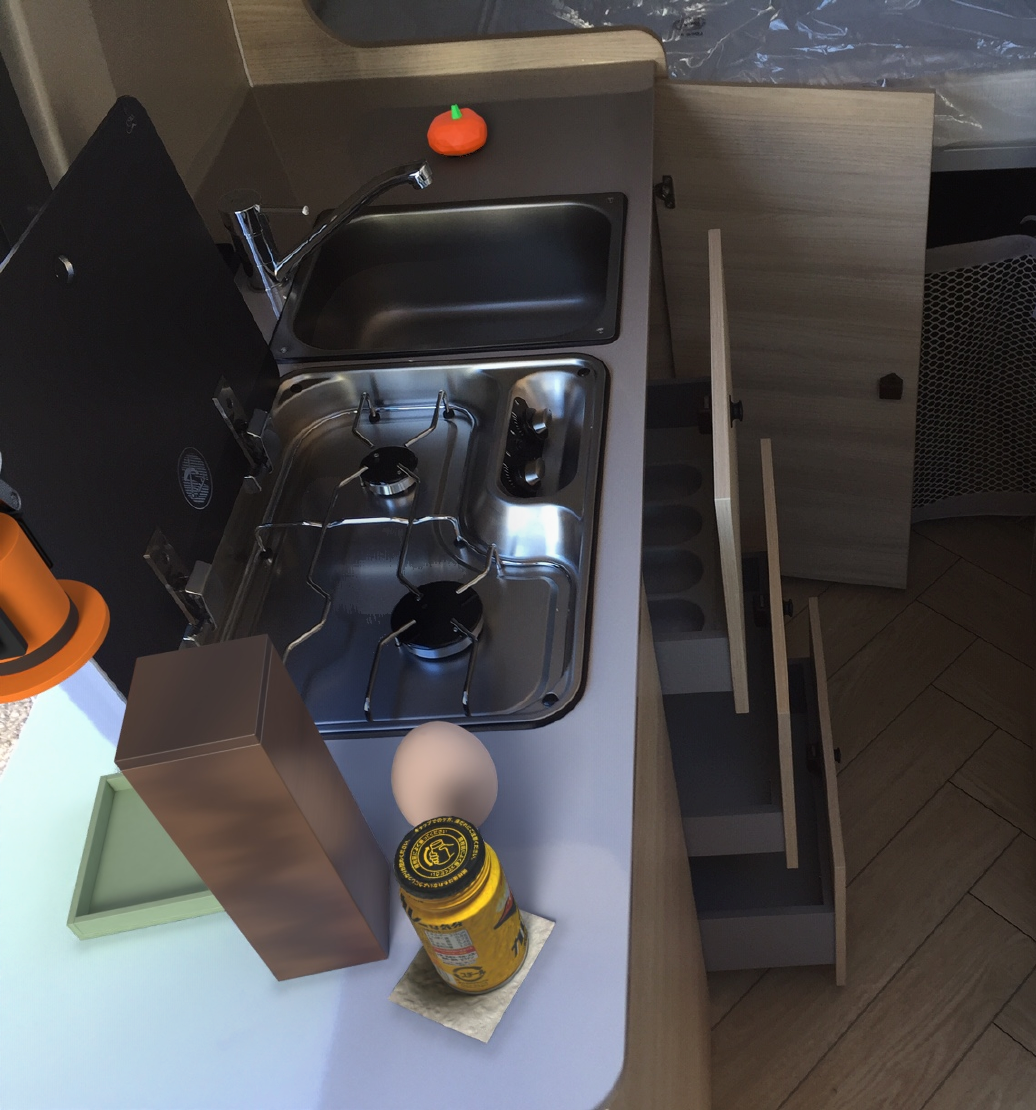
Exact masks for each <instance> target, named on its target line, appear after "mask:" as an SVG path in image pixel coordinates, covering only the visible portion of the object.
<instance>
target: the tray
mask: <svg viewBox="0 0 1036 1110" xmlns="http://www.w3.org/2000/svg"><path fill="white" fill-rule="evenodd" d="M86 833H87V834H86V837H85V840H84V841H85V842H84V846H83V850H82V855H81V858H80V863H79V868H78V872H77V876H76V881H75V883H74V884H75V885H74V889H73V894H72V897H71V902H70V907H69V911H68V915H67V919H66V923H65V926H66V927H67V928H68V929H69V930H70V932H72V933H73V934H74V935H75V936H76V938H77V939H78V940H80V941H84V940H90V939H95V938H99V937H104V936H109V935H113V934H114V935H115V934H119V933H124V932H129V931H135V930H138V929H144V928H148V927H154V926H158V925H162V924H168V923H173V922H178V921H182V920H188V919H193V918H196V917H202V916H208V915H213V914H218V913H222V912H226V911H225V910H224V908H223V907H222V906H221V904H220V903H219V902H218V900H217V899H216V898H215V896H214V895H213V894H212V892H211V891H210V890H209V888H208V887H207V886H206V884H205V883H204V882H203V880H202V879H201V878H200V876H199V875H198V874H197V872H196V871H195V870H194V868H193V867H192V866H191V864H190V863H189V862H188V860H187V859H186V858H185V856H184V855H183V854H182V852H181V851H180V850H179V848H178V847H177V846H176V844H175V843H174V842H173V840H172V839H171V838H170V836H169V835H168V834H167V832H166V831H165V830H164V828H163V827H162V826H161V824H160V823H159V822H158V820H157V819H156V818H155V816H154V815H153V814H152V812H151V811H150V810H149V808H148V807H147V806H146V804H145V803H144V802H143V800H142V799H141V798H140V796H139V795H138V794H137V792H136V791H135V790H134V788H133V787H132V786H131V784H130V783H129V782H128V780H127V779H126V778H125V776H124V775H123V774H122V772H121V771H119V772H114V773H110V774H105V775H101V776H99V781H98V785H97V789H96V794H95V798H94V803H93V807H92V811H91V815H90V820H89V825H88V828H87V832H86Z"/></svg>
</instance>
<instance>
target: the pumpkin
mask: <svg viewBox="0 0 1036 1110" xmlns="http://www.w3.org/2000/svg"><path fill="white" fill-rule="evenodd" d="M426 136H427V140H428V144H429V148H431V149H432V150H433V151H434V152H435V153H437V154H439V155H441V154H444V155H463V154H467V153H470V152H473V151H475V150H477V149H479V148H480V147H482V146H483V147H484V145H485V144H486V142H487V138H488V126H487V123H486V121H485V120H484V118H483V117H482V116H481V115H479V114H478V113H477V112H475V111H474V110H473V109H470V108H469V107H464V108H459V106H458V105H457V103H456V104H455V105H454V104H453V105H451V106H450V110H448V111H447V110H446V111H445V112H443V113H440V114H438V115H437V116H435V117H434V118H433V120H432V122H431V123H430V125H429V128H428V130H427V133H426ZM483 147H482V148H483ZM480 149H481V148H480ZM480 149H479V150H480ZM444 155H443V156H444ZM470 155H471V154H469V155H466V156H465V157H467V156H470ZM459 158H462V157H461V156H460V157H459Z"/></svg>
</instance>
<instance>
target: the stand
mask: <svg viewBox="0 0 1036 1110" xmlns="http://www.w3.org/2000/svg"><path fill="white" fill-rule="evenodd" d="M113 763H114V764H115V766H116V767H117V768H118V769H119V770H120V772H122V774H123V775H124V776H125V778H126V779H127V780H128V782H129V783H130V784H131V786H132V787H133V788H134V790H135V791H136V792H137V794H138V795H139V796H140V798H141V799H142V800H143V802H144V803H145V804H146V806H147V807H148V808H149V810H150V811H151V812H152V814H153V815H154V816H155V818H156V819H157V820H158V822H159V823H160V824H161V826H162V827H163V828H164V830H165V831H166V832H167V834H168V835H169V836H170V838H171V839H172V840H173V842H174V843H175V844H176V846H177V847H178V848H179V850H180V851H181V852H182V854H183V855H184V856H185V858H186V859H187V860H188V862H189V863H190V864H191V866H192V867H193V868H194V870H195V871H196V872H197V874H198V875H199V876H200V878H201V879H202V880H203V882H204V883H205V884H206V886H207V887H208V888H209V890H210V891H211V892H212V894H213V895H214V896H215V898H216V899H217V900H218V902H219V903H220V904H221V906H222V907H223V908H224V910H225V911H224V912H226V914H227V915H228V916H229V918H230V920H231V921H232V922H233V923H234V924H235V926H236V927H237V929H238V930H239V931H240V933H241V934H242V935H243V937H244V938H245V939H246V941H247V942H248V943H249V944H250V946H251V947H252V949H253V950H254V951H255V952H256V954H257V955H258V957H259V958H260V959H261V960H262V962H263V963H264V964H265V965H266V967H267V969H268V970H269V972H270V973H271V974H272V975H273V976H274V978H275V979H276V981H277V982H283V981H284V982H285V981H289V980H293V979H297V978H302V977H303V978H304V977H307V976H312V975H317V974H322V973H327V972H332V971H337V970H340V969H346V968H351V967H355V966H359V965H364V964H365V965H366V964H368V963H372V962H373V963H374V962H378V961H384V960H387V959H389V927H390V923H389V922H390V880H391V879H390V877H391V875H390V874H391V865H390V863H389V861H388V859H387V857H386V855H385V853H384V851H383V849H382V847H381V845H380V844H379V841H378V840H377V839H376V836H375V835H374V832H373V831H372V828H371V827H370V825H369V823H368V821H367V819H366V817H365V816H364V813H363V811H362V810H361V808H360V805H359V803H358V802H357V800H356V798H355V796H354V795H353V793H352V791H351V788H350V787H349V785H348V783H347V782H346V779H345V778H344V775H343V774H342V772H341V770H340V768H339V765H337V762H336V759H334V757H333V755H332V753H331V751H330V749H329V747H328V745H327V744H326V742H325V740H324V737H323V735H322V734H321V732H320V730H319V729H318V727H317V724H316V722H315V721H314V719H313V717H312V715H311V713H310V711H309V709H308V707H307V706H306V704H305V701H304V700H303V698H302V696H301V695H300V692H299V691H298V689H297V687H296V685H295V683H294V681H293V679H292V678H291V675H290V674H289V672H288V670H287V668H286V666H285V664H284V662H283V660H282V658H281V657H280V655H279V653H278V651H277V649H276V648H275V645H274V643H273V641H272V640H271V638H270V636H269V634H268V633H263V634H257V635H252V636H246V637H242V638H236V639H231V640H226V641H221V642H214V643H211V644H204V645H198V646H194V647H188V648H183V649H178V650H172V651H167V652H162V653H155V654H150V655H145V656H139V657H137V658H136V660H135V664H134V669H133V674H132V678H131V683H130V687H129V691H128V696H127V701H126V705H125V710H124V714H123V718H122V723H121V728H120V732H119V736H118V741H117V745H116V749H115V755H114V759H113Z"/></svg>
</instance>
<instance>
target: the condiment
mask: <svg viewBox="0 0 1036 1110" xmlns="http://www.w3.org/2000/svg"><path fill="white" fill-rule="evenodd" d="M393 870H394V872H393V874H394V875H393V876H394V878H395V881H396V883H397V884H398V886H399V887H398V896H399V899H400V903H401V907H402V908H403V910H404V913H405V914H406V916H407V918H408V920H409V921H410V923H411V925H412V927H413V929H414V931H415V932H416V935H417V936H418V938H419V940H420V942H421V944H422V946H421V948H420V949H419V950H418V952H417V953H416V956H415V957H414V959H413V960H412V962H411V963H410V965H409V967H408V968H407V970H406V971H405V972H404V974H403V975H402V977H401V978H400V980H399V981H398V983H396V985H395V987H394V988H393V991H392V992H391V994H389V997H388V998H387V1000H388V1001H389V1002H391V1003H394V1004H396V1005H398V1006H400V1007H402V1008H404V1009H407V1010H409V1011H411V1012H413V1013H415V1014H418V1015H420V1016H421V1017H424V1018H426V1019H429V1020H431V1021H433V1022H436V1023H438V1024H441V1025H443V1026H444V1027H446V1028H450V1029H452V1030H455V1031H457V1032H460V1033H461V1034H464V1035H466V1036H467V1037H468V1036H469V1037H471V1038H473V1039H476V1040H477V1041H481V1042H483V1043H485V1044H488V1042H489V1041H490V1038H491V1037H492V1035H493V1033H494V1031H495V1030H496V1028H497V1026H498V1025H499V1024H500V1021H501V1020H502V1017H503V1016H504V1013H506V1011H507V1009H508V1007H509V1006H510V1004H511V1002H512V1000H513V998H514V996H515V995H516V994H517V991H518V990H519V988H520V986H521V985H522V983H523V982H524V981H525V978H526V977H527V975H528V973H529V972H530V970H531V968H532V966H533V965H534V963H535V961H536V960H537V957H538V956H539V954H540V952H541V951H542V949H543V948H544V945H545V943H546V941H547V940H548V939H549V937H550V935H551V933H552V931H553V929H554V927H555V925H556V922H555V921H552V920H549V919H547V918H543V917H541V916H538V915H536V914H532V913H530V912H528V911H525V910H522V909H520V908H519V906H518V903H517V901H516V899H515V896H514V894H513V892H512V889H511V887H510V884H509V882H508V879H507V876H506V875H505V872H504V867H503V866H502V863H501V861H500V859H499V858H498V855H497V853H496V851H495V850H494V849H493V847H492V846H491V845H490V844H488V843H487V842H485V840H484V837H483V835H482V834H481V831H480V830H479V829H478V828H476V827H475V826H474V825H473V824H472V823H470V822H468V821H466V820H464V819H462V818H459V817H455V816H440V817H436V818H433V819H430V820H426V821H423V822H422V823H421V824H419V825H417V826H416V827H413V828H412V829H411V830H410V831H408V832H407V833H406V834H405V835H404V836H403V838H402V839H401V840H400V842H399V844H398V846H397V847H396V850H395V853H394V857H393Z"/></svg>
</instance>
